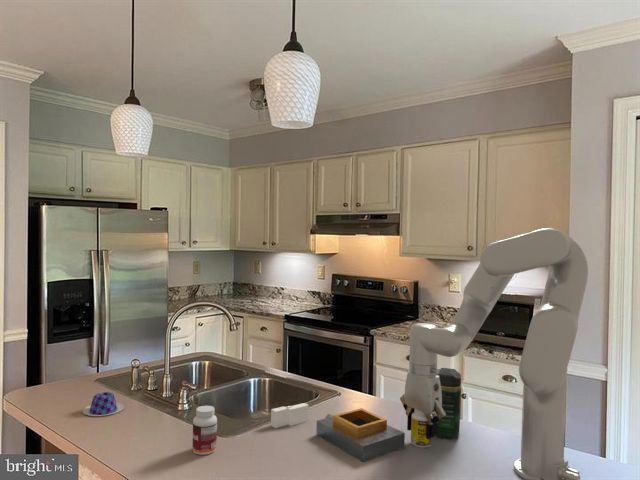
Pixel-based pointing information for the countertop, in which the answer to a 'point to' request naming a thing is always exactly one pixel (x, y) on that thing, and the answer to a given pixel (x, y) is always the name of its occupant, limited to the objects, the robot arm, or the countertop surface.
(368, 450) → the grey bottle holder
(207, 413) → the pill bottle
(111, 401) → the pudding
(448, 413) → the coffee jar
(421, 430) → the supplement bottle
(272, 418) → the white angular block
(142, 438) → the countertop surface
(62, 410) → the countertop surface
